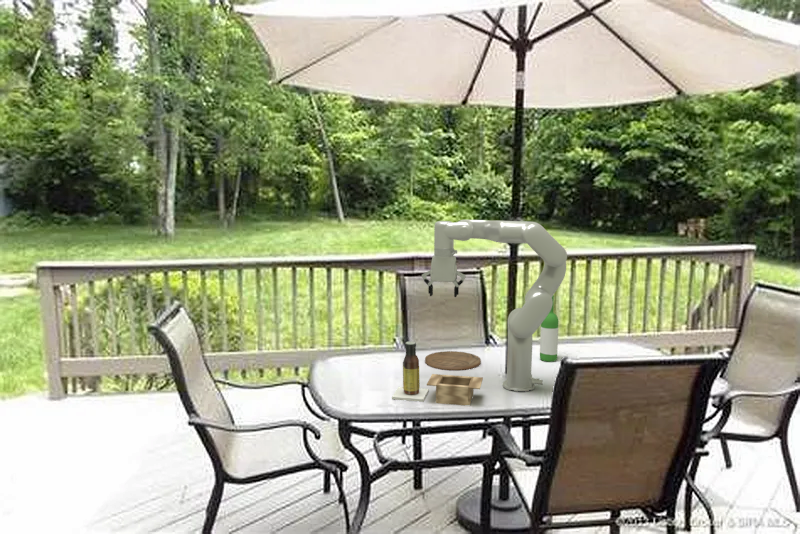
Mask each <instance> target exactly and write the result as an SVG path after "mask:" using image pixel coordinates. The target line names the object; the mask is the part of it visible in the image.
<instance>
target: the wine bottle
mask: <svg viewBox="0 0 800 534" xmlns="http://www.w3.org/2000/svg"><path fill="white" fill-rule="evenodd" d="M552 301H553V305H552V308H551V311H550V312H549V314H548V315H547V317H546V318H545V319H544V321H543V322H542V323H541V325H540V336H539V338H540V339H539V359H540V360H541V361H544V362H550V363H551V362H556V361H557V360H558V350H559V349H558V346H559V341H558V340H559V318H558V316H557V314H556V313H554V312H555V311H554V308H555V294H554V295H553V296H552Z"/></svg>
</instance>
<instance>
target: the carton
mask: <svg viewBox="0 0 800 534" xmlns="http://www.w3.org/2000/svg"><path fill="white" fill-rule="evenodd" d="M483 379H484V377H481V376H468V375H467V376H465V375H464V376H463V375H451V374H437V373H436V374H435V373H432V374H431V376H430V377H429V379H428V381H427V383H426V386H428V387H429V386H430V387H432V386H433V387H435V404H439V405H440V404H442V405H453V406H465V405H470V406H471V404H472V401H473V398H472V397H474V392H475V391H474V390H481V387H482V384H483ZM471 400H472V401H471Z"/></svg>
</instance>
